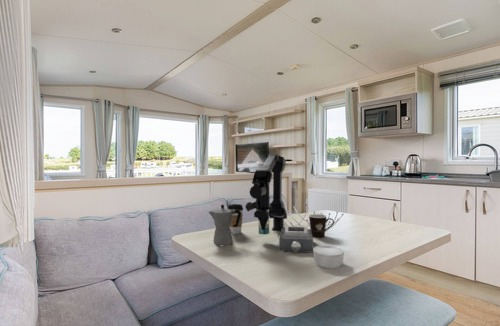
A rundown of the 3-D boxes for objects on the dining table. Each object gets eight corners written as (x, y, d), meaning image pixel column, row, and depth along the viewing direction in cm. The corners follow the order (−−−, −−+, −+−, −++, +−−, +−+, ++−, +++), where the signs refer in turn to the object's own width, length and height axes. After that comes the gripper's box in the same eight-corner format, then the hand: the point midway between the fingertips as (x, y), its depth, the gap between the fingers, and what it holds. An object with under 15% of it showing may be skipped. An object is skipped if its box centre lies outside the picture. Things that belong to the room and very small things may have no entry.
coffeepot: (207, 246, 123) (207, 206, 122) (210, 239, 132) (209, 203, 132) (241, 245, 123) (241, 206, 123) (241, 239, 133) (241, 202, 132)
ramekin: (335, 257, 108) (335, 244, 107) (350, 268, 96) (350, 253, 96) (308, 259, 106) (308, 246, 105) (320, 271, 95) (320, 256, 94)
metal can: (259, 231, 130) (259, 213, 130) (269, 231, 129) (269, 213, 129) (257, 234, 125) (257, 216, 125) (268, 234, 124) (268, 216, 124)
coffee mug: (307, 237, 134) (306, 217, 134) (311, 232, 142) (311, 213, 142) (331, 240, 129) (330, 219, 129) (334, 235, 137) (334, 215, 136)
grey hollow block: (281, 239, 131) (281, 224, 131) (311, 240, 128) (311, 225, 128) (279, 252, 113) (278, 234, 113) (313, 254, 111) (313, 236, 111)
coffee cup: (225, 234, 142) (224, 205, 142) (232, 229, 150) (231, 202, 149) (239, 235, 139) (239, 206, 138) (246, 231, 147) (245, 203, 146)
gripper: (250, 192, 138) (250, 223, 138) (242, 198, 119) (243, 233, 119) (271, 192, 136) (272, 223, 136) (267, 198, 117) (268, 234, 118)
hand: (263, 228), depth 127 cm, fingers closed on metal can, 5 cm apart
